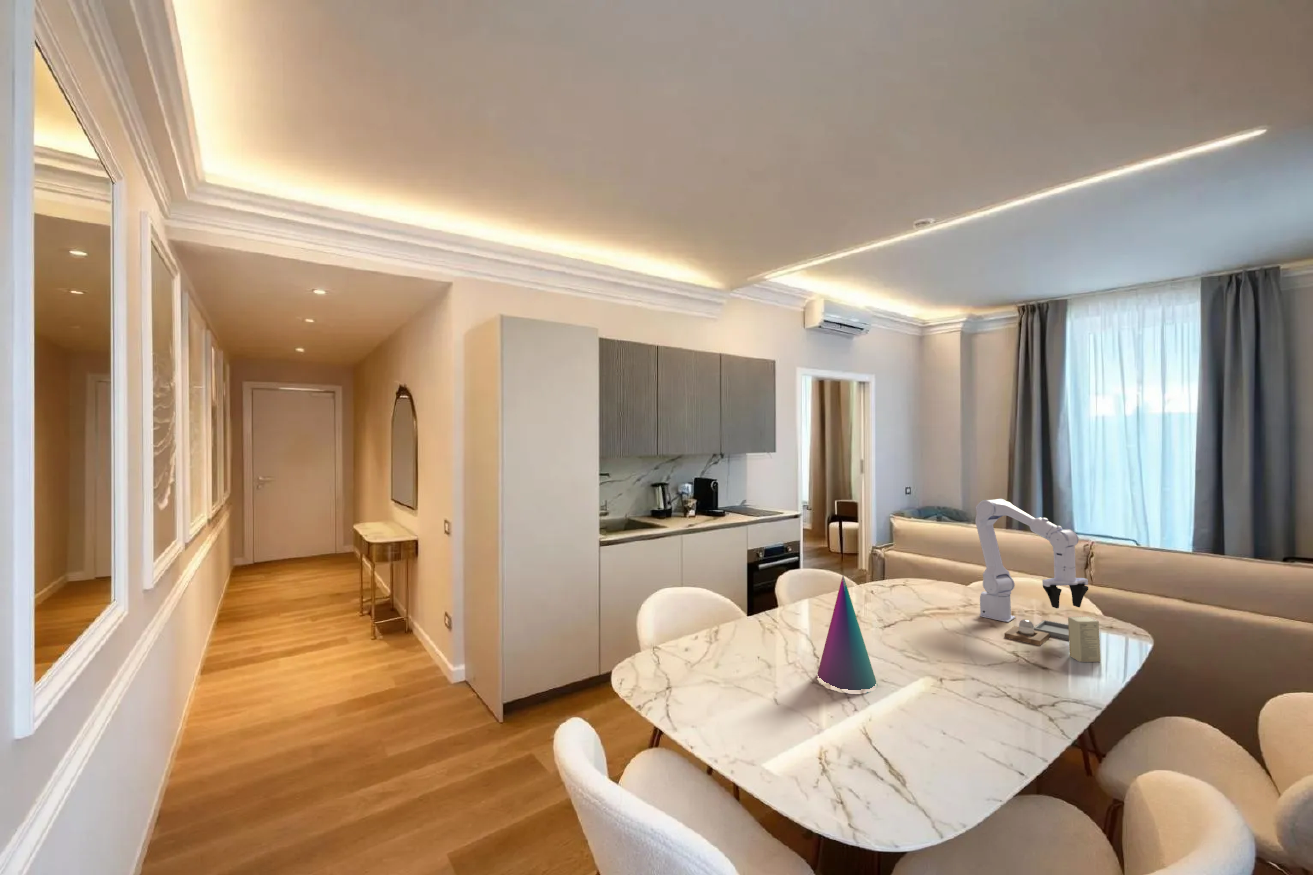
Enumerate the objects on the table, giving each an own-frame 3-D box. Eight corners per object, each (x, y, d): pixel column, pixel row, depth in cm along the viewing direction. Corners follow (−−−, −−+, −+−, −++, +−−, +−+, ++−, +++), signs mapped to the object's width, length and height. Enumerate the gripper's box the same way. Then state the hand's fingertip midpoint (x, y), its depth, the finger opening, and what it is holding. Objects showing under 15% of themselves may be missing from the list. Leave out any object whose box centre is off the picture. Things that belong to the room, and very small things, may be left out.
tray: (1033, 632, 181) (1033, 627, 181) (1043, 624, 189) (1043, 619, 189) (1077, 641, 172) (1076, 636, 172) (1086, 632, 180) (1086, 628, 180)
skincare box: (1090, 656, 161) (1089, 616, 161) (1101, 662, 156) (1099, 621, 156) (1068, 656, 161) (1067, 616, 161) (1078, 662, 157) (1077, 620, 157)
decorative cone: (873, 671, 154) (870, 568, 154) (881, 697, 138) (877, 582, 139) (815, 666, 158) (812, 566, 159) (817, 691, 143) (813, 579, 143)
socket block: (1004, 637, 178) (1004, 632, 178) (1014, 630, 184) (1014, 625, 184) (1040, 645, 170) (1039, 640, 170) (1049, 637, 176) (1049, 633, 176)
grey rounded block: (1017, 637, 177) (1017, 619, 177) (1021, 634, 180) (1021, 617, 180) (1032, 640, 174) (1031, 622, 174) (1035, 637, 177) (1035, 619, 177)
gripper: (1054, 569, 172) (1055, 611, 172) (1095, 568, 173) (1097, 609, 173) (1036, 564, 179) (1038, 605, 179) (1077, 563, 180) (1078, 603, 180)
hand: (1065, 606), depth 176 cm, fingers open, 7 cm apart
